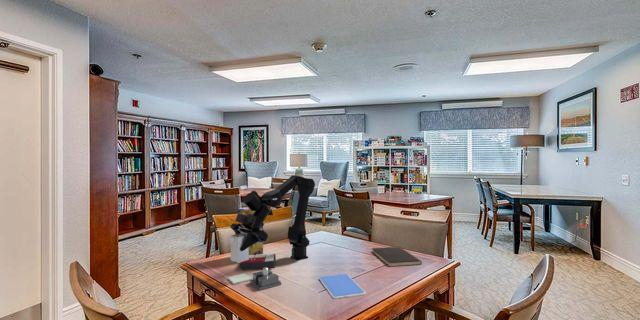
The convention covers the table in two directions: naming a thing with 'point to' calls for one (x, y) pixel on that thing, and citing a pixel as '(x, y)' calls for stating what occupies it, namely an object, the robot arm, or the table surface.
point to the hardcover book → (396, 256)
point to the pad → (239, 278)
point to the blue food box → (254, 248)
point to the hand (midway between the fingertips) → (236, 249)
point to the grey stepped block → (238, 248)
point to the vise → (265, 279)
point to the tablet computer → (341, 286)
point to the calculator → (259, 262)
